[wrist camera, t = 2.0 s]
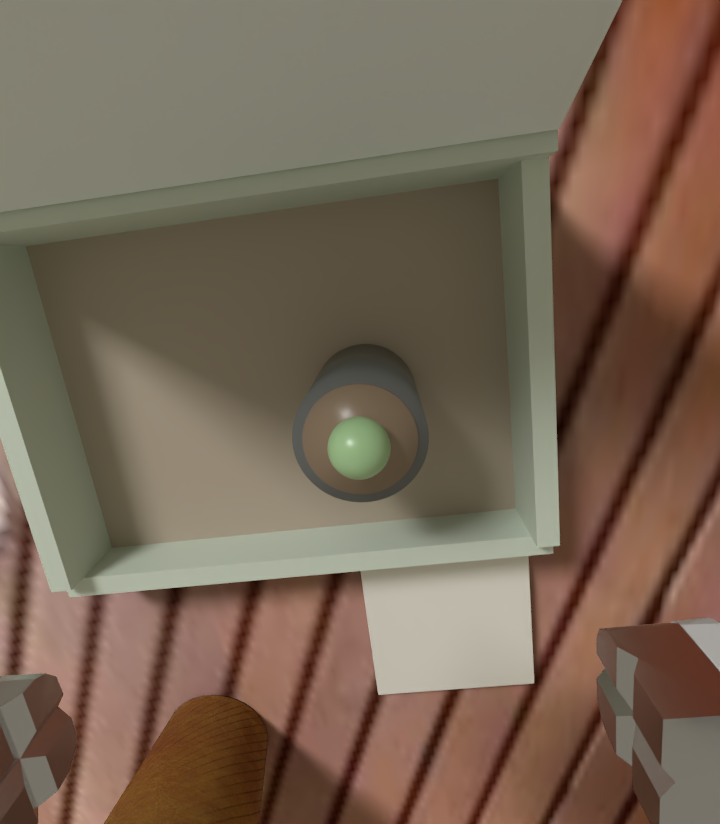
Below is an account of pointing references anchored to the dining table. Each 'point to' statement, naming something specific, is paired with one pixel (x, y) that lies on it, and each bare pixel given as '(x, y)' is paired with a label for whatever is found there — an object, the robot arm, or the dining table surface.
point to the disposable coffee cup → (200, 768)
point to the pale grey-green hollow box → (277, 274)
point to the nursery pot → (361, 426)
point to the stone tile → (450, 625)
